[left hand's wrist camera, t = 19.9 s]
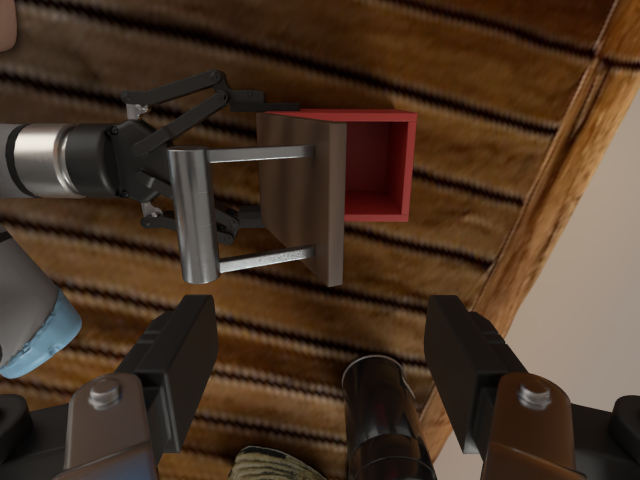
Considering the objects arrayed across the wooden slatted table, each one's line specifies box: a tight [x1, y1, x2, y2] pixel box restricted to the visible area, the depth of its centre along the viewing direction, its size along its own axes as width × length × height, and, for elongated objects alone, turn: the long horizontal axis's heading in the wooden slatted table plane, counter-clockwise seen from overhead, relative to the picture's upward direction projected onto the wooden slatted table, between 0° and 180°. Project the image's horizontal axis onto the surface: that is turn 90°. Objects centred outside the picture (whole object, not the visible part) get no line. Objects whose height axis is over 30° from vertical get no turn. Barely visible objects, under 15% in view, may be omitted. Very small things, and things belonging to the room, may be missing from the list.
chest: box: [264, 109, 417, 222], centre depth 41 cm, size 14×10×11 cm
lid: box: [166, 113, 347, 287], centre depth 28 cm, size 15×10×10 cm
